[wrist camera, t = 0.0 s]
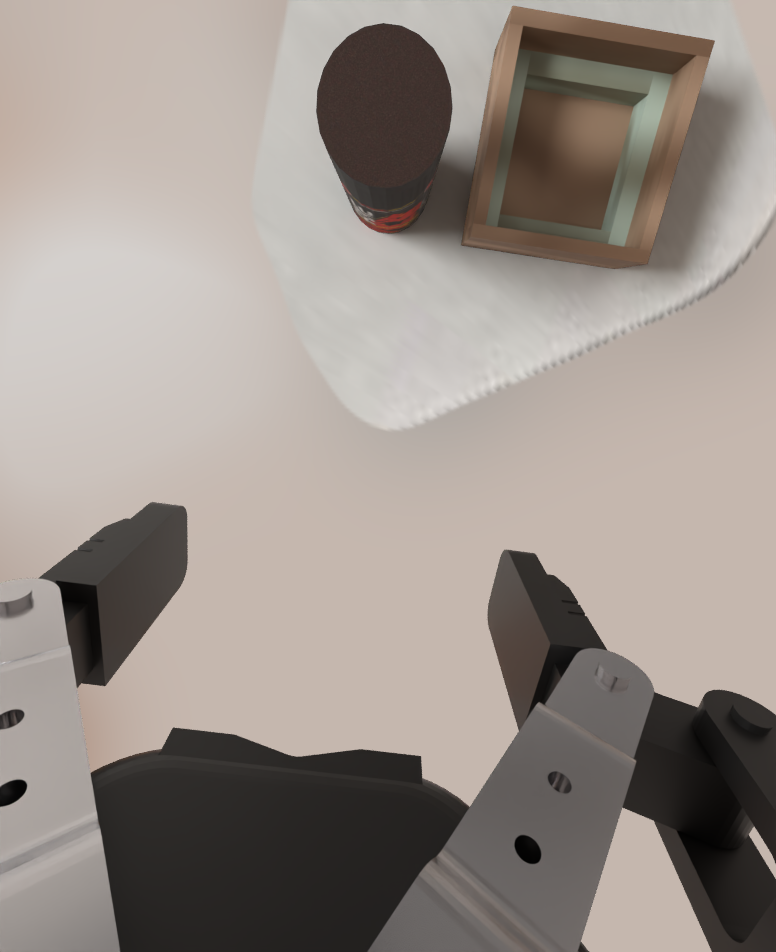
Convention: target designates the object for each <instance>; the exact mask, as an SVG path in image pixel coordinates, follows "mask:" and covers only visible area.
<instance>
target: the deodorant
mask: <svg viewBox="0 0 776 952" xmlns="http://www.w3.org/2000/svg"><path fill="white" fill-rule="evenodd" d="M316 112H317V118H318V124H319V130H320V134H321V137H322V139H323V141H324V144H325V146H326V149H327V151H328V154H329V156H330V158H331V160H332V163H333V165H334V167H335V169H336V172H337V174H338V176H339V178H340V181H341V183H342V185H343V187H344V190H345V192H346V194H347V196H348V199H349V201H350V203H351V205H352V208H353V210H354V212H355V213H356V215H357V216H358V218H359V219H360V220H361V221H362V222H363V223H364V224H365V225H366V226H368V227H369V228H371V229H373V230H375V231H377V232H382V233H395V232H400V231H402V230H404V229H406V228H408V227H409V226H410V225H412V224H413V223H414V222H415V221H416V220H417V219H418V217H419V216H420V214H421V213H422V211H423V210H424V207H425V204H426V201H427V199H428V196H429V192H430V189H431V186H432V183H433V180H434V177H435V174H436V170H437V167H438V164H439V161H440V158H441V155H442V152H443V148H444V145H445V142H446V139H447V136H448V133H449V130H450V122H451V115H452V98H451V86H450V83H449V80H448V77H447V74H446V70H445V67H444V65H443V63H442V62H441V60H440V58H439V57H438V55H437V53H436V52H435V50H434V48H433V47H432V46H430V45H429V44H428V43H427V42H426V41H425V40H424V39H423V38H422V37H421V36H420V35H419V34H417V33H415V32H413V31H411V30H409V29H407V28H405V27H403V26H399V25H392V24H385V23H382V24H377V25H372V26H367V27H364V28H362V29H360V30H358V31H356V32H355V33H353V34H351V35H349V36H348V37H347V38H346V39H345V40H344V41H343V42H342V43H341V44H340V45H339V46H338V47H337V48H336V49H335V50H334V51H333V53H332V55H331V56H330V58H329V60H328V62H327V64H326V65H325V67H324V69H323V72H322V76H321V79H320V83H319V86H318V90H317V109H316Z"/></svg>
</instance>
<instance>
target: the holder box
mask: <svg viewBox="0 0 776 952" xmlns="http://www.w3.org/2000/svg"><path fill="white" fill-rule="evenodd" d="M714 42H715V41H714V40H708V39H702V38H697V37H691V36H685V35H679V34H673V33H668V32H662V31H656V30H650V29H644V28H639V27H633V26H627V25H621V24H615V23H610V22H604V21H598V20H592V19H587V18H581V17H575V16H569V15H563V14H558V13H552V12H546V11H540V10H534V9H529V8H523V7H517V6H512V9H511V11H510V14H509V16H508V19H507V21H506V24H505V26H504V29H503V31H502V34H501V36H500V39H499V41H498V44H497V46H496V49H495V54H494V59H493V65H492V71H491V77H490V82H489V88H488V94H487V99H486V105H485V111H484V117H483V122H482V128H481V134H480V140H479V145H478V151H477V157H476V163H475V168H474V174H473V180H472V186H471V191H470V197H469V203H468V209H467V214H466V220H465V226H464V231H463V237H462V243H461V245H462V246H468V247H475V248H481V249H488V250H494V251H501V252H507V253H514V254H520V255H527V256H534V257H540V258H547V259H553V260H560V261H566V262H573V263H579V264H586V265H592V266H599V267H605V268H612V269H618V268H624V267H631V266H637V265H644V264H647V263H648V260H649V257H650V254H651V250H652V247H653V244H654V240H655V237H656V234H657V230H658V227H659V224H660V220H661V217H662V214H663V210H664V207H665V204H666V201H667V197H668V194H669V191H670V187H671V184H672V181H673V177H674V174H675V171H676V167H677V164H678V161H679V157H680V154H681V151H682V148H683V144H684V141H685V138H686V134H687V131H688V128H689V124H690V121H691V118H692V114H693V111H694V108H695V105H696V101H697V98H698V95H699V91H700V88H701V85H702V81H703V78H704V75H705V71H706V68H707V65H708V61H709V58H710V55H711V52H712V48H713V45H714Z"/></svg>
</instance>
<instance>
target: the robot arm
mask: <svg viewBox="0 0 776 952" xmlns="http://www.w3.org/2000/svg"><path fill="white" fill-rule="evenodd" d="M186 570H187V512H186V509H185V508H184V507H183V506H177V505H170V504H162V503H155V502H152V503H150V504H148V505H147V506H146V507H145V508H143V509H142V510H141V511H140V512H138V513H137V514H136V515H135V516H134V517H132V518H131V519H123V520H121V521H118V522H116V523H113V524H111V525H108V526H106V527H104V528H103V529H101V530H100V531H99V532H97V533H96V534H95V535H93V536H92V537H91V538H90V540H89V541H86V542H84V543H83V544H82V545H81V546H79V547H78V550H74V551H73V552H72V553H70V554H69V555H68V556H66V557H65V558H64V559H63V560H61V561H60V562H59V563H57V564H56V565H55V566H53V567H52V568H51V569H50V570H48V571H47V572H46V573H44V574H43V575H42V576H41V577H40V578H25V579H16V580H11V581H5V582H2V583H0V952H589V951H588V950H587V949H586V947H585V946H584V945H583V944H582V942H581V939H582V935H583V932H584V929H585V926H586V923H587V920H588V916H589V913H590V910H591V907H592V903H593V900H594V897H595V894H596V890H597V887H598V884H599V881H600V878H601V874H602V871H603V868H604V865H605V861H606V858H607V855H608V852H609V848H610V845H611V842H612V839H613V836H614V832H615V829H616V826H617V822H618V819H619V816H620V813H621V810H622V807H623V808H625V809H627V810H630V811H632V812H635V813H637V814H639V815H642V816H644V817H647V818H649V819H651V820H654V822H655V825H656V827H657V829H658V831H659V834H660V836H661V838H662V840H663V842H664V845H665V847H666V849H667V851H668V854H669V856H670V858H671V860H672V863H673V865H674V867H675V870H676V872H677V874H678V876H679V879H680V881H681V883H682V885H683V887H684V890H685V892H686V894H687V896H688V899H689V901H690V903H691V905H692V907H693V910H694V912H695V914H696V917H697V919H698V921H699V923H700V926H701V928H702V930H703V932H704V935H705V937H706V939H707V941H708V944H709V946H710V948H711V950H712V952H776V879H775V877H774V876H773V874H772V872H771V871H770V869H769V867H768V866H767V864H766V863H765V861H764V859H763V858H762V856H761V854H760V853H759V851H758V849H757V848H756V846H755V845H754V843H753V841H752V840H751V838H750V836H749V833H750V831H751V830H752V828H753V827H755V828H756V829H757V831H758V833H759V834H760V836H761V838H762V839H763V841H764V842H765V844H766V845H767V847H768V849H769V850H770V852H771V854H772V856H773V858H774V860H775V863H776V715H775V714H774V713H772V712H771V711H770V710H768V709H767V708H765V707H764V706H762V705H760V704H759V703H757V702H755V701H753V700H751V699H749V698H747V697H744V696H742V695H740V694H736V693H733V692H729V691H725V690H712V691H709V692H707V693H706V694H705V695H704V697H703V699H702V701H701V703H700V705H699V707H698V708H697V707H695V706H692V705H689V704H686V703H683V702H680V701H677V700H674V699H672V698H669V697H666V696H663V695H660V694H658V693H655V692H654V688H653V685H652V683H651V681H650V679H649V678H648V677H647V675H646V674H645V673H644V672H643V671H642V670H641V669H640V668H639V667H638V666H636V665H635V664H633V663H632V662H631V661H629V660H628V659H626V658H624V657H622V656H620V655H618V654H616V653H613V652H610V651H608V650H607V649H606V647H605V646H604V644H603V642H602V641H601V639H600V637H599V636H598V634H597V633H596V631H595V629H594V628H593V626H592V624H591V623H590V621H589V619H588V618H587V616H585V613H584V611H583V610H582V608H581V606H580V605H578V601H577V600H576V598H575V596H574V595H573V593H572V592H571V590H570V589H569V587H567V586H566V585H565V584H564V583H563V582H561V581H560V580H559V579H558V578H557V577H555V576H554V575H547V574H546V572H545V570H544V568H543V566H542V565H541V563H540V561H539V560H538V557H537V556H536V555H535V554H534V553H527V552H520V551H512V550H504V551H503V553H502V555H501V557H500V561H499V565H498V569H497V572H496V577H495V580H494V584H493V588H492V592H491V596H490V600H489V605H488V625H489V629H490V632H491V636H492V640H493V643H494V647H495V650H496V653H497V656H498V660H499V664H500V667H501V671H502V674H503V678H504V681H505V685H506V688H507V691H508V695H509V698H510V702H511V705H512V709H513V712H514V715H515V719H516V722H517V726H518V729H519V732H518V734H517V735H516V737H515V738H514V740H513V741H512V743H511V744H510V746H509V747H508V749H507V751H506V752H505V754H504V755H503V757H502V758H501V760H500V761H499V763H498V764H497V766H496V768H495V769H494V771H493V772H492V774H491V775H490V777H489V778H488V780H487V781H486V783H485V785H484V786H483V788H482V789H481V791H480V792H479V794H478V795H477V797H476V799H475V800H474V801H473V803H472V805H471V806H470V807H469V806H468V805H467V804H465V803H464V802H463V801H462V800H461V799H459V798H458V797H457V796H455V795H453V794H452V793H450V792H449V791H447V790H446V789H444V788H442V787H440V786H438V785H436V784H434V783H433V782H430V781H428V780H425V779H423V778H422V767H421V756H415V755H406V754H397V753H388V752H380V751H371V750H363V749H361V750H360V749H359V750H352V751H343V752H335V753H327V754H319V755H311V756H303V757H295V756H290V755H287V754H284V753H282V752H279V751H276V750H274V749H271V748H268V747H266V746H263V745H260V744H258V743H255V742H253V741H250V740H247V739H245V738H242V737H239V736H237V735H232V734H224V733H215V732H207V731H198V730H189V729H180V728H173V729H172V730H171V732H170V734H169V736H168V738H167V740H166V742H165V744H164V746H163V748H162V749H160V750H153V751H148V752H144V753H139V754H135V755H132V756H129V757H126V758H123V759H120V760H117V761H115V762H113V763H110V764H108V765H105V766H103V767H101V768H99V769H97V770H95V771H93V772H92V773H90V767H89V761H88V755H87V748H86V742H85V736H84V730H83V723H82V718H81V711H80V704H79V699H78V692H77V688H78V687H79V685H80V684H81V683H83V684H92V685H100V686H106V684H107V683H108V682H109V680H110V679H111V678H112V677H113V675H114V674H115V672H116V671H117V670H118V669H119V667H120V666H121V664H122V663H123V662H124V661H125V659H126V658H127V657H128V655H129V654H130V653H131V651H132V650H133V649H134V647H135V646H136V645H137V643H138V642H139V641H140V639H141V638H142V637H143V635H144V634H145V633H146V631H147V630H148V629H149V627H150V626H151V625H152V623H153V622H154V621H155V619H156V618H157V617H158V616H159V614H160V613H161V612H162V610H163V609H164V608H165V606H166V605H167V603H168V602H169V601H170V600H171V598H172V597H173V595H174V594H175V593H176V592H177V590H178V589H179V588H180V586H181V584H182V582H183V580H184V577H185V574H186Z"/></svg>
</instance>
